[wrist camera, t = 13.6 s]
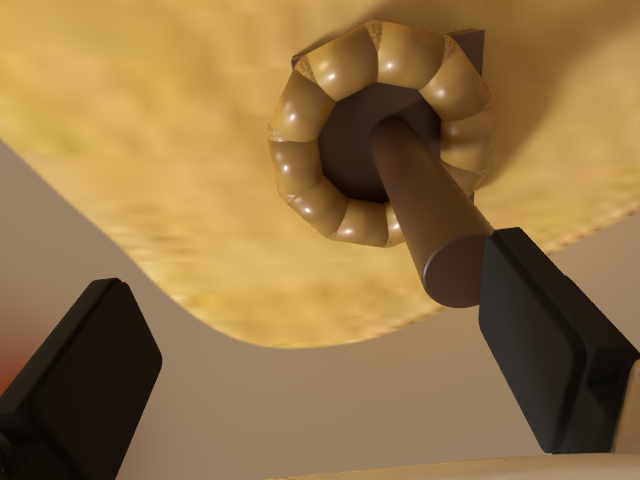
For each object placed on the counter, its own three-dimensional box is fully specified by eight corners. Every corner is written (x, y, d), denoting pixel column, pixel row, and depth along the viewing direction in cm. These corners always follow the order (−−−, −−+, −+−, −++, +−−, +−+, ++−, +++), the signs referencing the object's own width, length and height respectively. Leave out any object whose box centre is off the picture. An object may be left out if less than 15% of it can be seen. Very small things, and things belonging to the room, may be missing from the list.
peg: (473, 28, 20) (707, 65, 8) (465, 195, 24) (606, 373, 13) (292, 56, 20) (264, 129, 9) (317, 214, 25) (322, 402, 13)
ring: (490, 0, 18) (513, 0, 16) (475, 222, 23) (491, 243, 21) (251, 38, 18) (243, 42, 16) (293, 245, 24) (291, 268, 22)
